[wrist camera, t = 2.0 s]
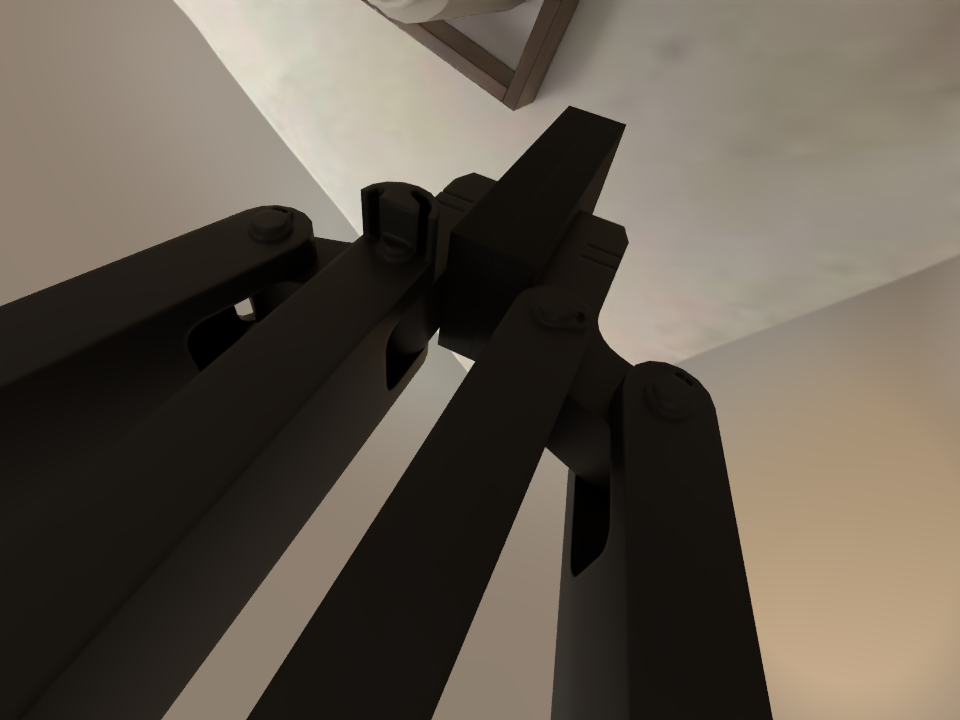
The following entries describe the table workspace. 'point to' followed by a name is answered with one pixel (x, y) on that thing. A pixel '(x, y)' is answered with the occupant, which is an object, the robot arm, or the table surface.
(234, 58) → the table surface
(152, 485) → the robot arm
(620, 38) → the table surface
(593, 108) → the table surface
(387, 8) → the can
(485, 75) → the walnut frame
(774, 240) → the table surface
